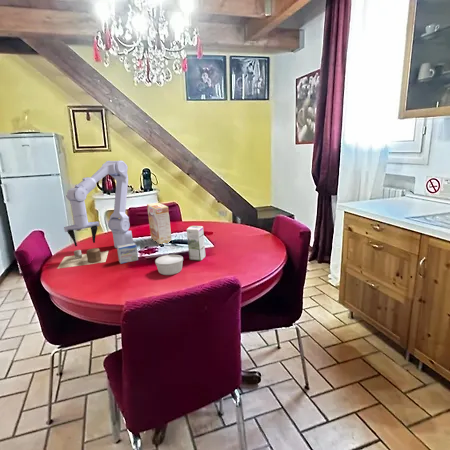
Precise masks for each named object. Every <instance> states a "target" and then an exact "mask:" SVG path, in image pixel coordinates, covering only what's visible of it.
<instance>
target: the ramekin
mask: <svg viewBox="0 0 450 450" xmlns="http://www.w3.org/2000/svg"><path fill="white" fill-rule="evenodd" d="M183 261H184V257H183V256H182V255H179V254H167V255H161V256H159V257H157V258H156V259H155V260H154V263H155V266H156V267H157V271H158V273H159V274H160V275H164V276H172V275H176V274H178V273H180V272H181V271H182V269H183Z"/></svg>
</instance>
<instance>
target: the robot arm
mask: <svg viewBox="0 0 450 450" xmlns="http://www.w3.org/2000/svg"><path fill="white" fill-rule="evenodd" d="M128 169H129V167H128V165H127V163H126V162H125V161H123V160H122V159H121V160H106V161H105V162H104V163H102V165H101V166H100V168H98V169H97V171H96V172H94V173H93V174H92V176H90V177H88V176H86V177H83V178H82V180H81V181H80V182H79V183H78V184H75V185H74V187H71V188H69V189H68V190H67V192H66V199H67V200H68V201H69V204H70V206H71V213H72V217H73V225H72V224H71V225H68V226H63V230H64V232H65V233H67V234H68V236H69V237H70V238H71V239H72V242H73V244H74V246H75V247H78V243H77V241H76V235H75V232H74V231H76V230H83V229H89V228H90V231H91V237H92V243H93V244H95V243H96V236H97V232H98V227H100V221H90V222H89V219H88V214H87V212H88V211H87V206H86V201H85V200H86V199H87V195H89V193H91V192H92V191H93V190H94V189H95V188H96V187H97V183H98V182H99V181H100V180H102V179H103V178H105V177H106V176H107V175H110V176H111V177H112V178H113V179H114V180H115V181H116V183H115V195H114V196H115V197H114V206H113V207H114V208H113V212H112V213H111V215H110V216H109V220H108V222H107V228H108V229H109V230H110V231H111V233H112V238H113V239H112V240H113V245H114V248H115V249H117V246H120V245H125V244H130V243H135V241H134V239H133V233H132V230H129V229H130V227H131V225H130V216H128V215H127V214H126V209H127V200H128V199H127V198H128V188H129V187H128V186H129V176H128Z"/></svg>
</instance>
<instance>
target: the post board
mask: <svg viewBox="0 0 450 450" xmlns="http://www.w3.org/2000/svg"><path fill="white" fill-rule="evenodd" d="M100 253H101V261H99V262H95V263H89V262H88V259H87V254H86V253H82V250H81V249H76V250H74V251H73V254H74V255H68V256H64V257H63V258H62V260H61V261H60V263H59V265H58V267H56V270H57V269H58V270H59V269H67V268H72V267H78V266H79V267H80V266H88V265H95V264H102V263H106V261H107V259H108V254H109V250H106V251H100Z"/></svg>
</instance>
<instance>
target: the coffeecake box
mask: <svg viewBox="0 0 450 450" xmlns="http://www.w3.org/2000/svg"><path fill="white" fill-rule="evenodd" d="M146 210H147V215H148V217H147V218H148V224H149V230H150V231H149V232H150V239H151V240H152V239H153V240H152V241H153V242H155V241H156V242H157V243H156V242H155V243H156V244H158V243H159V244H163V243H168V242H170V241H171V240H172V241H173V239H172V231H171V221H170V214H169V206H167V205H165V204H163V203H160V202H154V203H153V202H152V203H147V204H146ZM159 244H158V245H159ZM168 244H169V243H168Z"/></svg>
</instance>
